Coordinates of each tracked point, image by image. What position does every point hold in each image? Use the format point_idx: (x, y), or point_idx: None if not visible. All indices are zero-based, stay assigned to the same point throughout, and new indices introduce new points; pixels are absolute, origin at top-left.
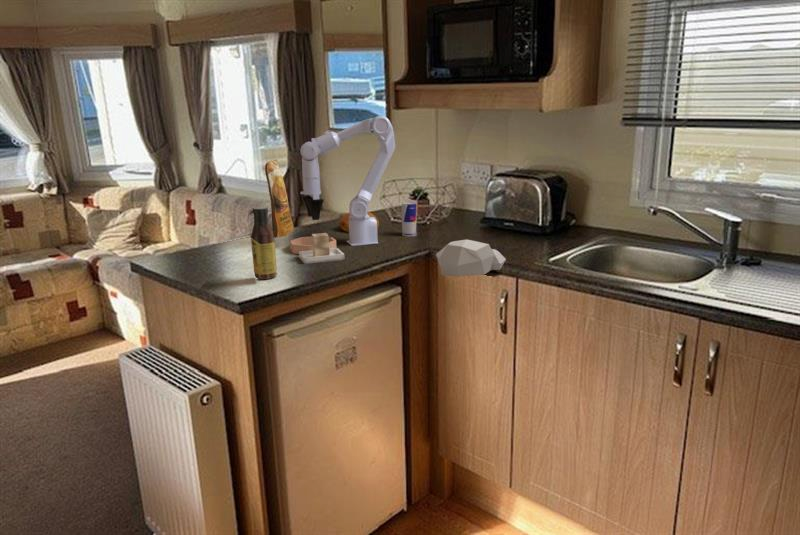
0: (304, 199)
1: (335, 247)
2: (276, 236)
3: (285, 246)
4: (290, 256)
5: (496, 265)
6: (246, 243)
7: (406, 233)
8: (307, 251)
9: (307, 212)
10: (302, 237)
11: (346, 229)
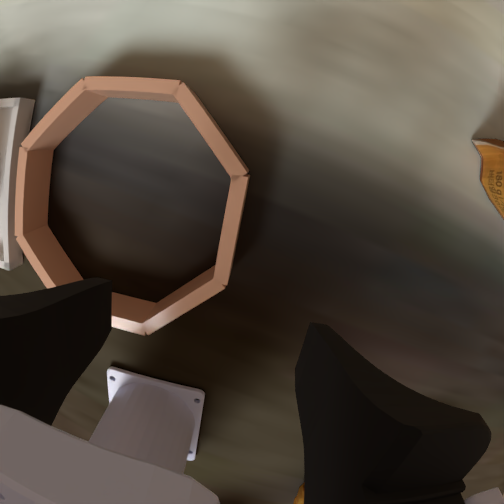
0: (382, 426)
1: None
2: (486, 139)
3: (294, 97)
4: (65, 67)
5: None
6: (462, 4)
7: None
8: (9, 135)
9: (339, 337)
10: (236, 186)
11: None
